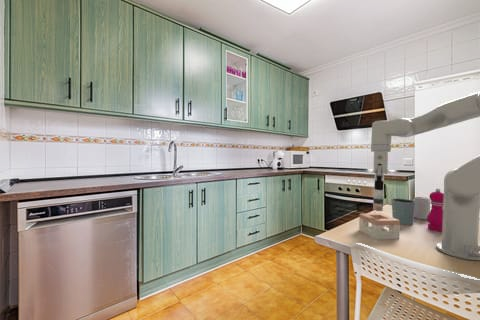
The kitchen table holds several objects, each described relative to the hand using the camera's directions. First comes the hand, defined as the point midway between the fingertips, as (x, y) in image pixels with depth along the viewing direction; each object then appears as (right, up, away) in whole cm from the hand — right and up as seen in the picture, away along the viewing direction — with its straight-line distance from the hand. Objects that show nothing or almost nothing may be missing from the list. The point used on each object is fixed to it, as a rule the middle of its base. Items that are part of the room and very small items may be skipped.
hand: (378, 188), depth 99 cm
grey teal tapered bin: (+24, -21, +17) cm, 36 cm away
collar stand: (0, -21, +1) cm, 21 cm away
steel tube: (0, -10, 0) cm, 10 cm away
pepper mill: (+33, -21, +7) cm, 39 cm away
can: (+40, -20, +25) cm, 51 cm away
